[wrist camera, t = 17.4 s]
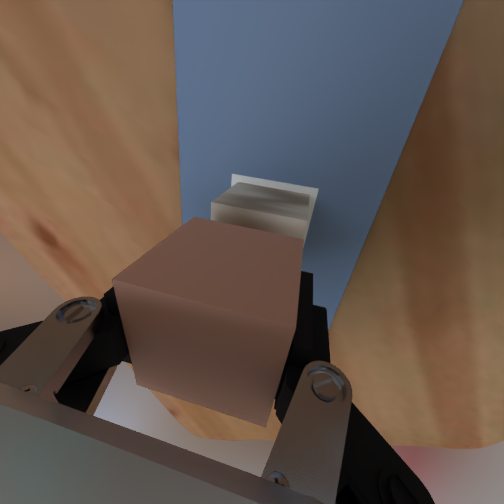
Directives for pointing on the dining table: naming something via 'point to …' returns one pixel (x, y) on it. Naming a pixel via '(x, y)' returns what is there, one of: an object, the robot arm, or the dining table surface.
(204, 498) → the robot arm
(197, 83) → the board
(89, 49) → the dining table surface
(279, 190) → the cream block
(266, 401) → the terracotta block
